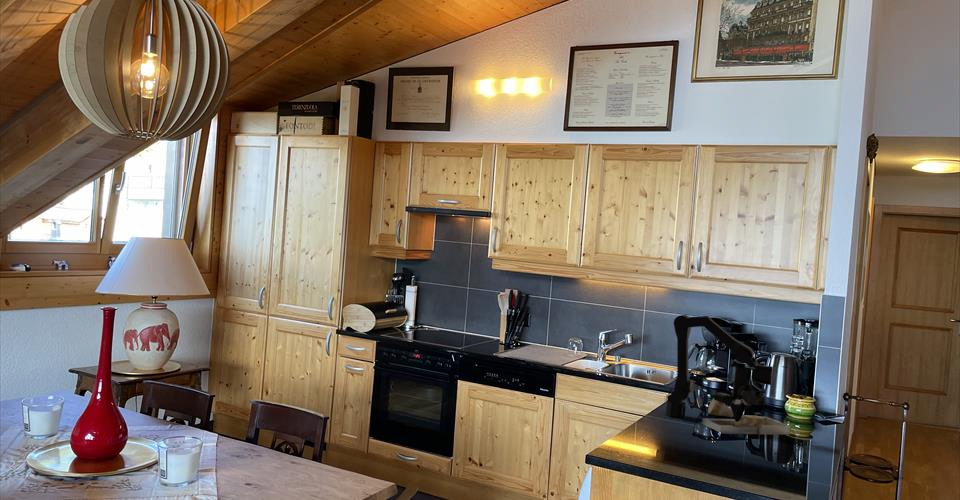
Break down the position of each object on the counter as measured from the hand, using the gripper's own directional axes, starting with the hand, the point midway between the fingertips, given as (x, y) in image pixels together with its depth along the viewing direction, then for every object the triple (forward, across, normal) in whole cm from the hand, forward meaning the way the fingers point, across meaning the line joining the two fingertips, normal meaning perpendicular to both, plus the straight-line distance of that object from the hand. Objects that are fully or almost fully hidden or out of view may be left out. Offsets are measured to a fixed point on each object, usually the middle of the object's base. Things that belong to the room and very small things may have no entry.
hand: (737, 421), depth 280 cm
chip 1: (+2, +4, 0) cm, 4 cm away
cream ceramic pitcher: (+3, +8, +20) cm, 22 cm away
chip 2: (+2, +8, 0) cm, 8 cm away
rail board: (+3, +4, 0) cm, 5 cm away
